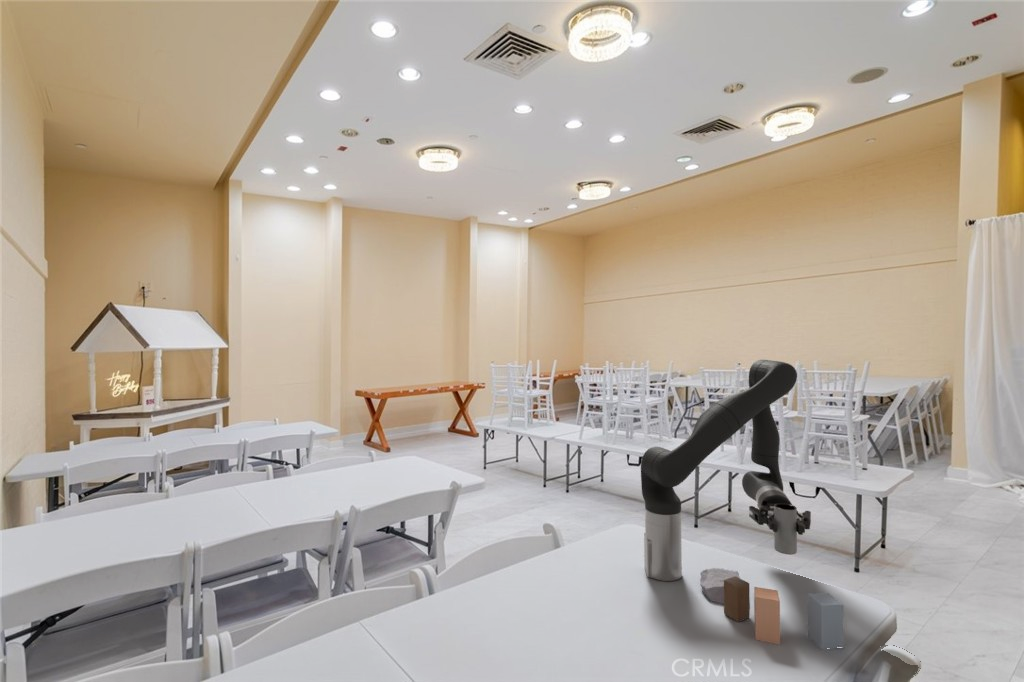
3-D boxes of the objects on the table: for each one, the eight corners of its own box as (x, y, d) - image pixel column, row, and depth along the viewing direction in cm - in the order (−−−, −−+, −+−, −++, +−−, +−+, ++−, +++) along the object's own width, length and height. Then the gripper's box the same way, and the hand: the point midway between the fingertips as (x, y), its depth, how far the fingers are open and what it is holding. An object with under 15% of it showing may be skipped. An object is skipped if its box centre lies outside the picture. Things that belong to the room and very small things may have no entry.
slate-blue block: (821, 649, 101) (821, 605, 101) (807, 636, 106) (807, 593, 106) (843, 648, 102) (843, 604, 101) (828, 635, 106) (828, 593, 106)
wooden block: (738, 623, 111) (738, 587, 111) (723, 614, 115) (722, 579, 114) (750, 618, 113) (750, 582, 113) (735, 609, 116) (734, 575, 116)
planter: (794, 547, 117) (794, 503, 117) (798, 556, 113) (798, 510, 113) (773, 545, 119) (772, 502, 119) (776, 553, 115) (776, 508, 114)
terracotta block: (755, 639, 105) (755, 596, 105) (754, 627, 109) (754, 586, 109) (780, 644, 103) (779, 600, 103) (777, 632, 107) (777, 590, 107)
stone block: (707, 609, 120) (751, 605, 118) (702, 589, 120) (746, 584, 118) (699, 586, 132) (739, 582, 130) (695, 568, 132) (735, 563, 130)
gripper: (743, 487, 132) (753, 509, 115) (804, 491, 127) (824, 515, 111) (743, 515, 132) (753, 542, 115) (804, 521, 127) (824, 549, 111)
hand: (788, 529), depth 113 cm, fingers closed on planter, 4 cm apart
